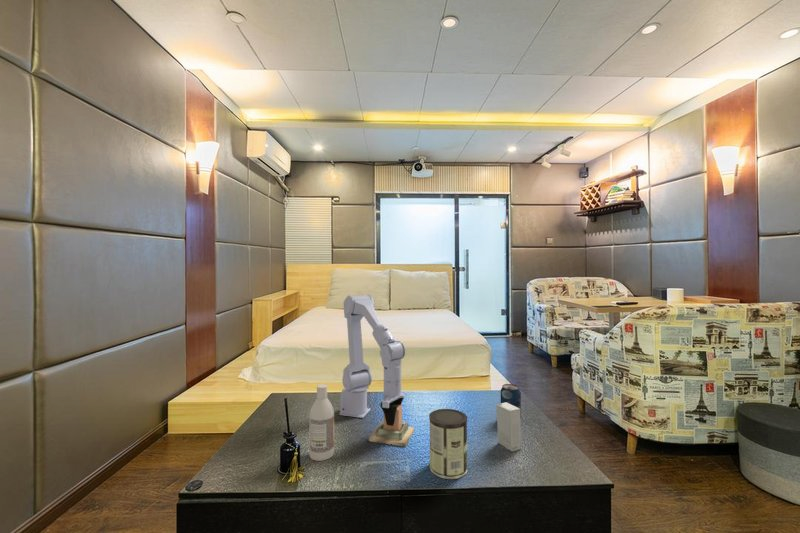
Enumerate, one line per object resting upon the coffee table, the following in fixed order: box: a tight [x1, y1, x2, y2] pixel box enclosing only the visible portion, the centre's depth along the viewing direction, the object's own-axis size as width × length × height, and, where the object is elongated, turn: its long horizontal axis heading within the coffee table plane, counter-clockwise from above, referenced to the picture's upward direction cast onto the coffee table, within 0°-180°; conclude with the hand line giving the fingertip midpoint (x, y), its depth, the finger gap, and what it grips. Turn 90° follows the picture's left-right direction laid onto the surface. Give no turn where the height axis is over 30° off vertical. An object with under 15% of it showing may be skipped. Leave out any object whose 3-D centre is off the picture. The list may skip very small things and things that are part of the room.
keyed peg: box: [383, 404, 403, 431], centre depth 111 cm, size 5×4×7 cm
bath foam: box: [308, 384, 335, 462], centre depth 100 cm, size 7×7×20 cm
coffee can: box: [428, 408, 468, 480], centre depth 93 cm, size 10×10×14 cm
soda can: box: [500, 383, 522, 420], centre depth 123 cm, size 7×7×12 cm
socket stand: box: [368, 419, 416, 447], centre depth 111 cm, size 12×11×3 cm
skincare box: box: [496, 402, 522, 452], centre depth 105 cm, size 6×4×12 cm
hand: (392, 421), depth 111 cm, fingers closed on keyed peg, 4 cm apart
